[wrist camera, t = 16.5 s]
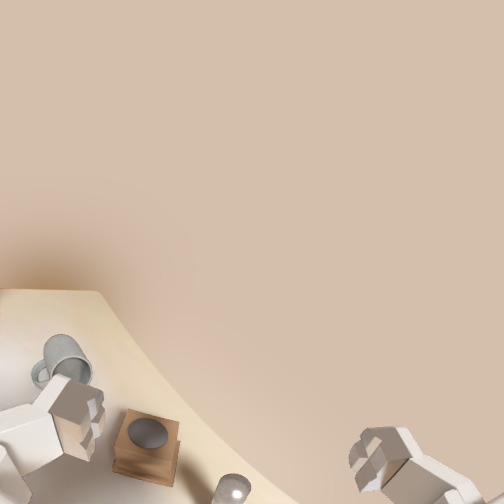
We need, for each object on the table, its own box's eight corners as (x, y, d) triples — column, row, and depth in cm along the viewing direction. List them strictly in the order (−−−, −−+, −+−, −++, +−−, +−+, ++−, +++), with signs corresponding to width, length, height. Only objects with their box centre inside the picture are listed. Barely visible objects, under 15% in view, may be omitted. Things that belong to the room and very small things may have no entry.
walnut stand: (112, 471, 27) (108, 445, 26) (126, 431, 35) (125, 403, 33) (172, 487, 28) (175, 463, 26) (179, 445, 36) (183, 418, 34)
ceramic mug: (79, 360, 46) (76, 326, 44) (95, 389, 41) (91, 353, 39) (28, 369, 38) (21, 333, 36) (39, 401, 33) (29, 364, 31)
